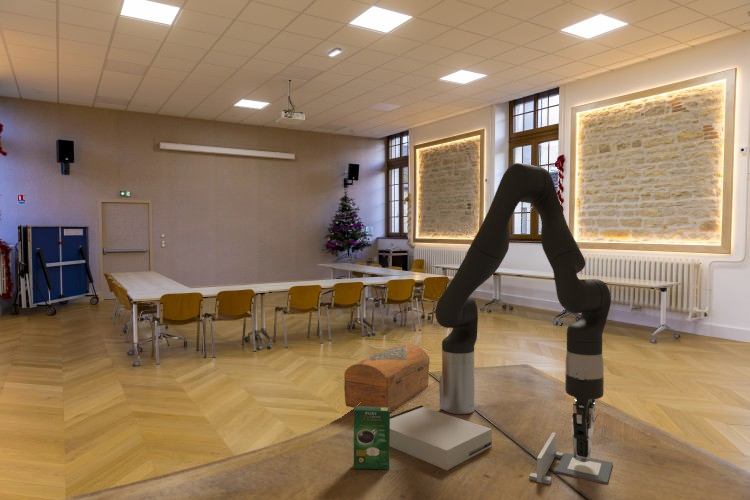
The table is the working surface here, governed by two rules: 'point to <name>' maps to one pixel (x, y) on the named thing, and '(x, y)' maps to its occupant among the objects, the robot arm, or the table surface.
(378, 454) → the coffee box
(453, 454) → the disc drive
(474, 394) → the robot arm
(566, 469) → the mat
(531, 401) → the table surface
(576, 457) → the milkshake
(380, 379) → the wooden box
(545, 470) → the divider wall
